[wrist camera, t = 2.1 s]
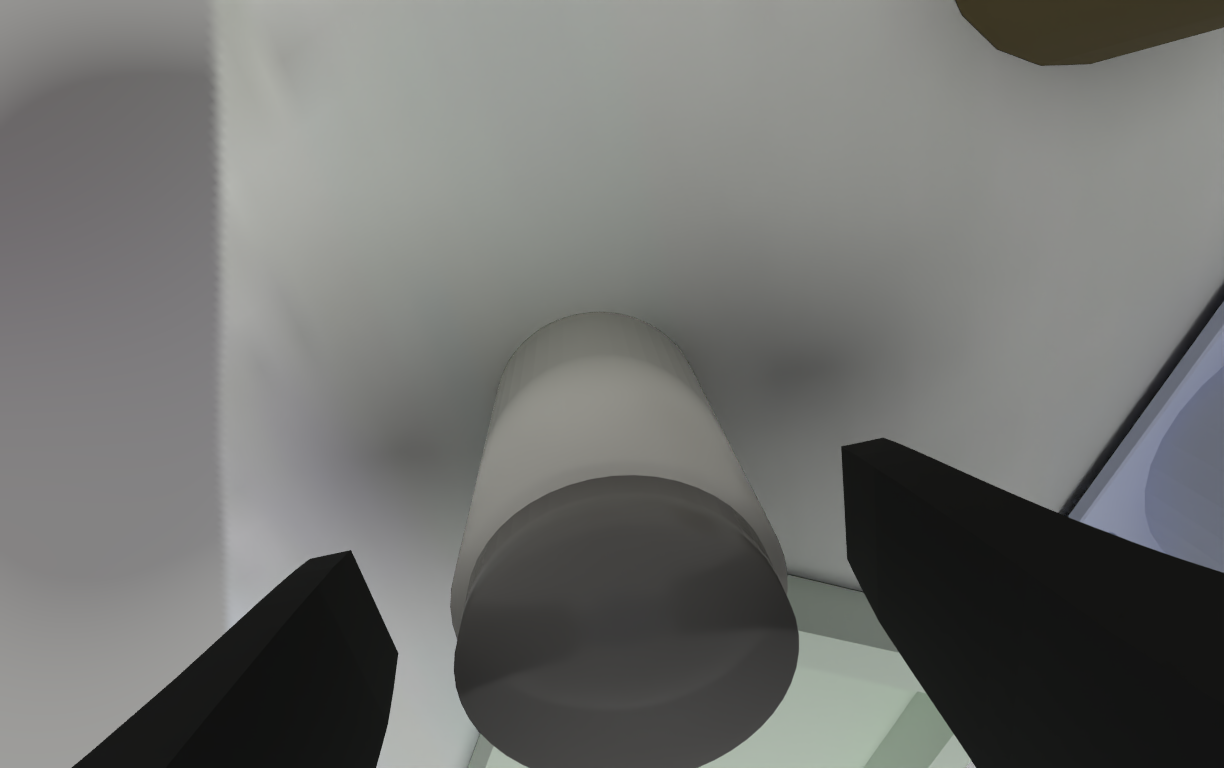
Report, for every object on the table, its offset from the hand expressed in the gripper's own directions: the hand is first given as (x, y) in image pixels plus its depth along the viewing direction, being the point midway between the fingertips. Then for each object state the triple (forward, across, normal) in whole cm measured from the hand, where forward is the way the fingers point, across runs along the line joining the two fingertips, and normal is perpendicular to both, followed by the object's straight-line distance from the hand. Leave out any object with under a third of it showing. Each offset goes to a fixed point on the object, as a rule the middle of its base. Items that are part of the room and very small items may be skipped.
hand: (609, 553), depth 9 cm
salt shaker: (+5, 0, 0) cm, 5 cm away
